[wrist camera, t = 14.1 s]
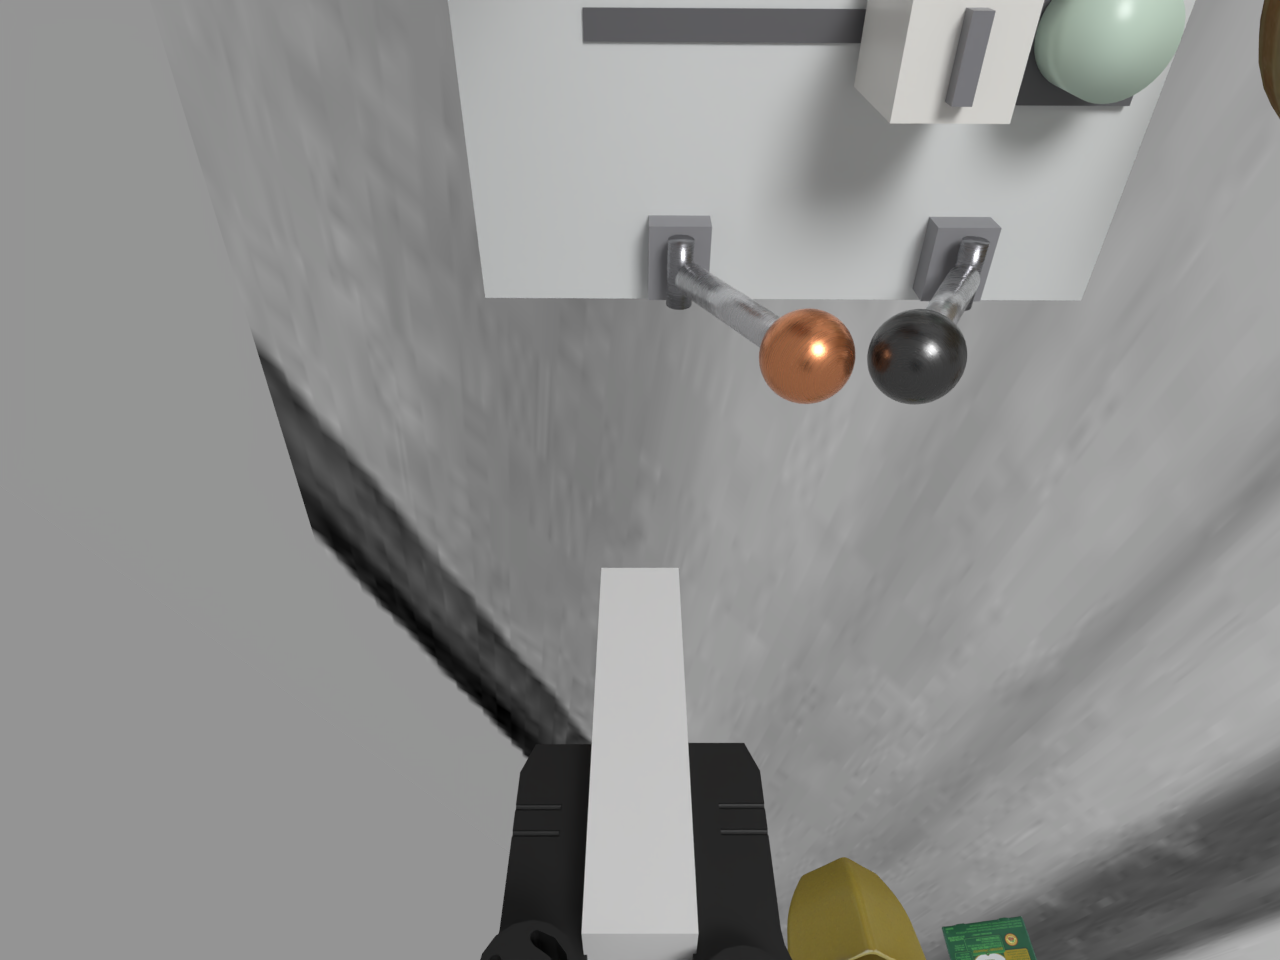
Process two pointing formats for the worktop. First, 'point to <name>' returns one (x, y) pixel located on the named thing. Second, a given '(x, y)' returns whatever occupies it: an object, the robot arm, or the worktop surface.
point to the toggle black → (929, 336)
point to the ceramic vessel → (1270, 52)
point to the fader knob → (945, 59)
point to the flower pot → (848, 917)
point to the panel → (762, 158)
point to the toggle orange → (767, 330)
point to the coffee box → (989, 940)
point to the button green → (1107, 45)
